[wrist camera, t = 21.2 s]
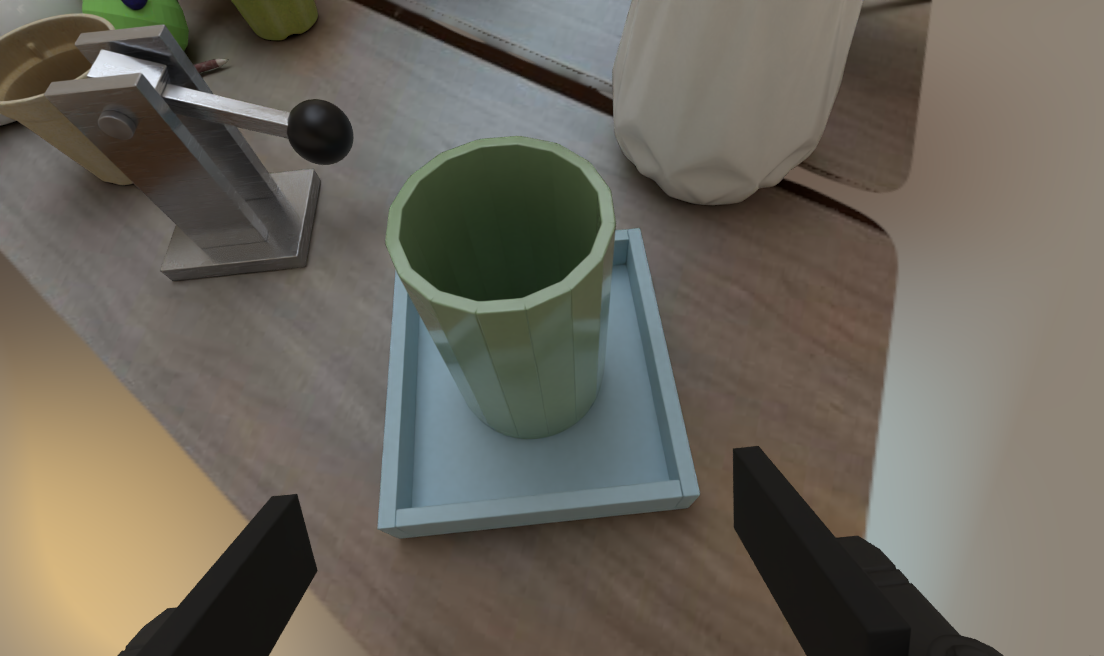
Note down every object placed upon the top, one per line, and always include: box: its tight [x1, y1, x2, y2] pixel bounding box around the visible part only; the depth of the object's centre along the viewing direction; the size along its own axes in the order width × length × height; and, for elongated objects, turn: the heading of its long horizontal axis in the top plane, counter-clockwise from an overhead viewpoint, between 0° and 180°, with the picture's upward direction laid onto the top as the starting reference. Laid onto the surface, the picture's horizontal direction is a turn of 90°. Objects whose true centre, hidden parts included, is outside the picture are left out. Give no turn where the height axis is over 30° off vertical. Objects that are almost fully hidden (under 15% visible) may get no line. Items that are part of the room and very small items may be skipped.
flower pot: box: [0, 13, 133, 185], centre depth 37 cm, size 9×9×9 cm
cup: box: [385, 136, 616, 439], centre depth 24 cm, size 8×8×13 cm
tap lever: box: [87, 49, 353, 165], centre depth 29 cm, size 12×4×4 cm, turn 95°
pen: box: [194, 59, 228, 73], centre depth 45 cm, size 11×1×1 cm, turn 114°
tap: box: [44, 24, 321, 281], centre depth 31 cm, size 9×8×13 cm
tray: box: [378, 228, 700, 539], centre depth 29 cm, size 15×16×3 cm
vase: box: [612, 0, 863, 205], centre depth 32 cm, size 14×14×15 cm
